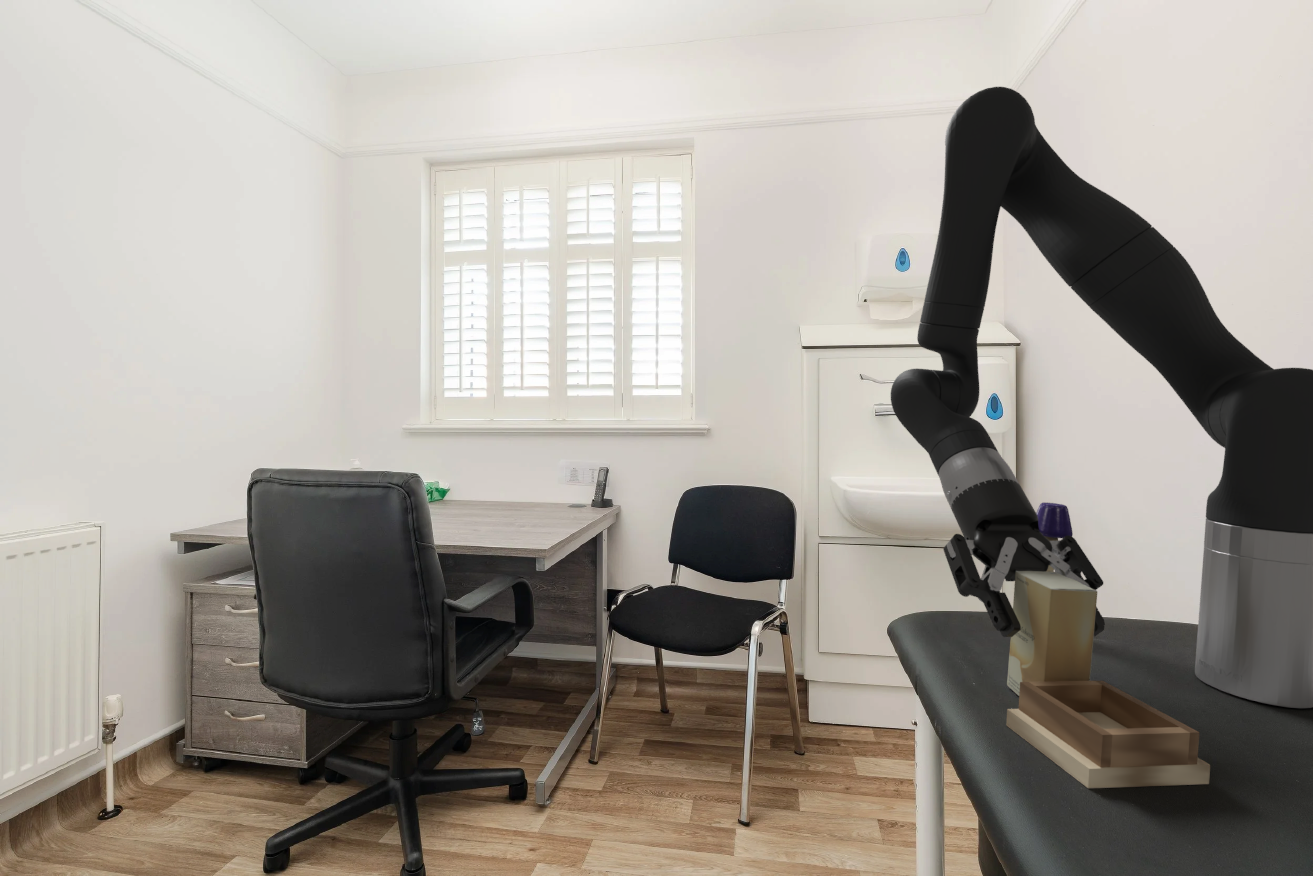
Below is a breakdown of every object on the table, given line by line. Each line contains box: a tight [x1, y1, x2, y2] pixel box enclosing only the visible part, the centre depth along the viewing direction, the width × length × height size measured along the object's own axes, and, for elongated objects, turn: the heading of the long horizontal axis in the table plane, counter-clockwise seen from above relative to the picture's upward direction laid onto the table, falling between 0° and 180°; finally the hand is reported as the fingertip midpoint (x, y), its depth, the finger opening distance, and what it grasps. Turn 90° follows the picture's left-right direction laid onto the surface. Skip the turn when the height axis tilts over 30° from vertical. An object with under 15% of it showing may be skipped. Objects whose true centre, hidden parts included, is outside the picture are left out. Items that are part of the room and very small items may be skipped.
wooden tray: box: [1006, 680, 1211, 789], centre depth 50 cm, size 10×9×4 cm
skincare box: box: [1006, 571, 1098, 697], centre depth 58 cm, size 6×4×12 cm
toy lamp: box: [1036, 502, 1073, 572], centre depth 79 cm, size 5×5×17 cm
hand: (1054, 633), depth 58 cm, fingers open, 8 cm apart
